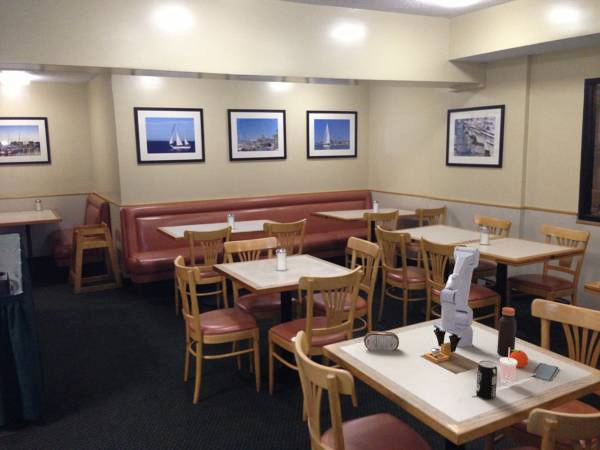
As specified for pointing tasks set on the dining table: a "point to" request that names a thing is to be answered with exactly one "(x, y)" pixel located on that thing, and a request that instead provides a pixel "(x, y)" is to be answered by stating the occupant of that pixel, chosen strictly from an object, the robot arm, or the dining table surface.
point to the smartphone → (545, 372)
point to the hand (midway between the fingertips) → (446, 348)
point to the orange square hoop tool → (444, 353)
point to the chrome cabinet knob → (435, 352)
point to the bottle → (506, 332)
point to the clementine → (519, 358)
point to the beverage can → (486, 380)
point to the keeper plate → (456, 363)
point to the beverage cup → (508, 370)
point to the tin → (381, 340)
